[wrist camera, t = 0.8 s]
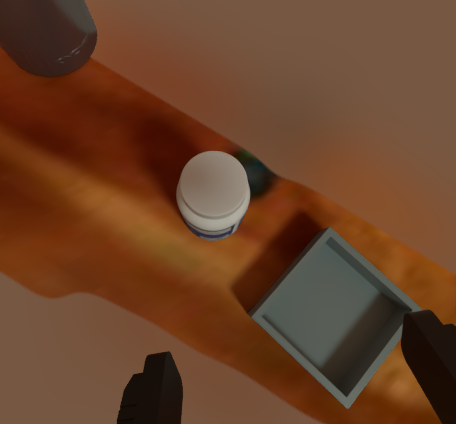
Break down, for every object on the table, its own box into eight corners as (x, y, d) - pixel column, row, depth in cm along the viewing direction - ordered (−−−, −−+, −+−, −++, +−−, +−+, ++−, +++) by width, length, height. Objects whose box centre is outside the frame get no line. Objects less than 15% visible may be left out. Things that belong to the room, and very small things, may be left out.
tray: (247, 313, 31) (251, 317, 28) (318, 231, 32) (329, 226, 30) (334, 396, 30) (347, 409, 27) (402, 306, 31) (422, 309, 29)
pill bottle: (211, 172, 33) (212, 126, 23) (254, 210, 33) (273, 180, 23) (170, 213, 32) (153, 184, 22) (214, 254, 32) (216, 242, 22)
